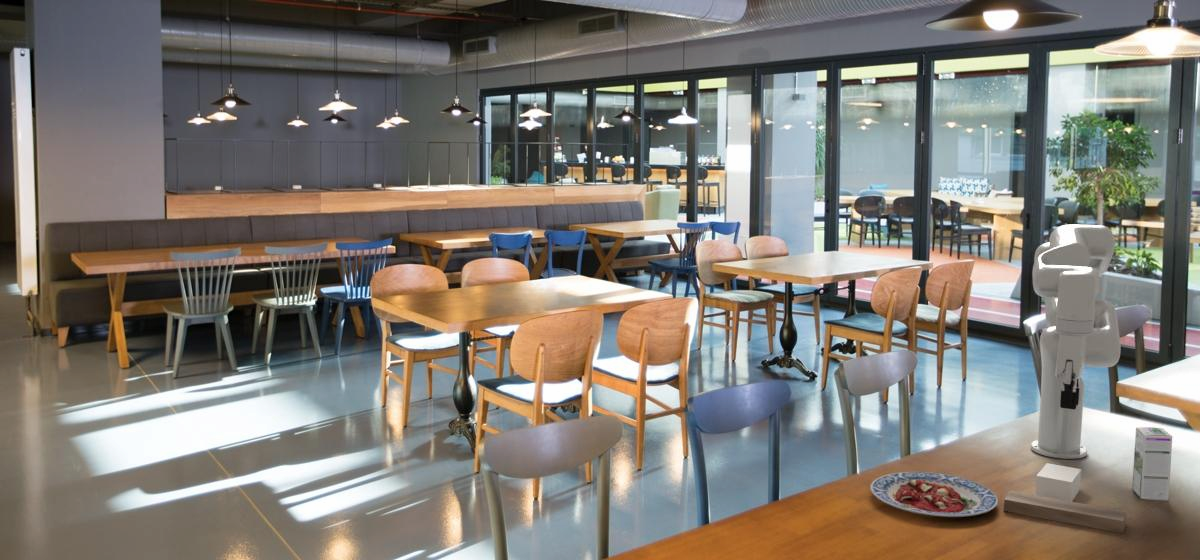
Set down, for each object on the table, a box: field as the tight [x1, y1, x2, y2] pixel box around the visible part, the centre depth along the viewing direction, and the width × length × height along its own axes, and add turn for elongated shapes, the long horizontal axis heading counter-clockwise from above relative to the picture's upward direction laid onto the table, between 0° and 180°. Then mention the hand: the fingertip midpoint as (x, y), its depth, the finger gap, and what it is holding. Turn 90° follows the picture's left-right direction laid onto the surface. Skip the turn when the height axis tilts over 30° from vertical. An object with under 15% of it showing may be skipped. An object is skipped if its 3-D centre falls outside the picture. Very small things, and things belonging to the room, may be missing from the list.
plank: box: [1003, 490, 1128, 534], centre depth 197 cm, size 6×22×2 cm, turn 57°
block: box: [1034, 462, 1082, 502], centre depth 210 cm, size 10×7×5 cm
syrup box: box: [1132, 426, 1173, 501], centre depth 207 cm, size 6×6×14 cm
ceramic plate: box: [870, 471, 999, 518], centre depth 206 cm, size 26×26×3 cm
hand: (1069, 405), depth 216 cm, fingers open, 3 cm apart
